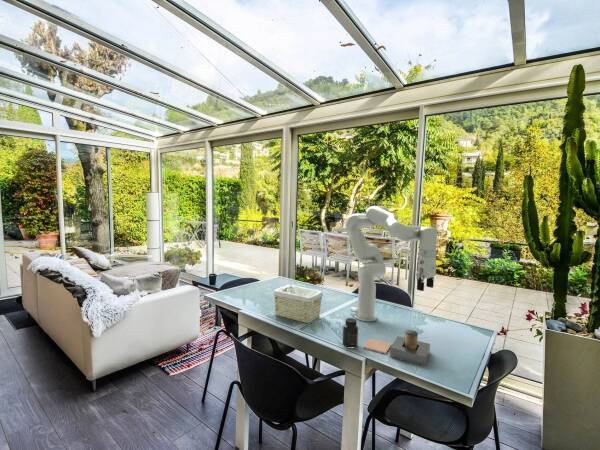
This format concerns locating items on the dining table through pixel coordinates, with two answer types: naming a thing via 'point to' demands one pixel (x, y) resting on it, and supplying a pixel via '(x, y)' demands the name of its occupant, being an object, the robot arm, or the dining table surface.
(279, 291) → the storage basket
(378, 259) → the robot arm
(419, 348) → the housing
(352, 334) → the supplement bottle
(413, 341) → the brown cylinder
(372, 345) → the tile
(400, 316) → the dining table surface
